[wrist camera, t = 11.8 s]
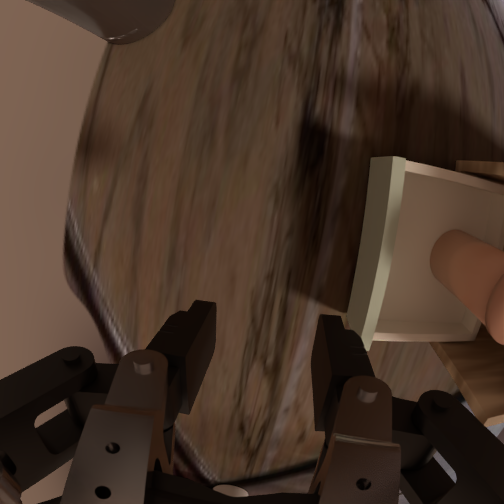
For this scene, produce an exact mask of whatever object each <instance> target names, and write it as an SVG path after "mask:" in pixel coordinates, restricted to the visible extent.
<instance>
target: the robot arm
mask: <svg viewBox="0 0 504 504" xmlns="http://www.w3.org/2000/svg"><path fill="white" fill-rule="evenodd" d="M26 1H29V2H31V3H33V4H36V5H38V6H40V7H42V8H44V9H46V10H48V11H51V12H53V13H55V14H57V15H59V16H61V17H63V18H65V19H67V20H69V21H71V22H73V23H75V24H77V25H79V26H80V27H82V28H84V29H86V30H88V31H90V32H92V33H93V34H95V35H97V36H99V37H101V38H102V39H104V40H106V41H108V42H110V43H113V44H128V43H131V42H135V41H137V40H140V39H142V38H144V37H145V36H147V35H149V34H150V33H152V32H153V31H154V30H155V29H157V28H158V27H159V26H160V25H161V24H162V23H163V22H164V21H165V20H166V18H167V17H168V15H169V14H170V12H171V10H172V8H173V5H174V1H175V0H26ZM215 343H216V303H215V302H208V301H201V300H195V301H194V303H193V304H192V306H191V307H190V309H189V310H188V311H178V312H177V313H175V314H173V315H171V316H170V317H169V318H168V319H167V321H166V322H165V323H164V325H163V326H162V327H161V329H160V331H158V333H157V334H156V335H155V337H154V338H153V339H152V341H151V342H150V343H149V345H148V346H147V347H146V349H143V350H135V351H132V352H130V353H128V354H126V355H125V356H123V357H122V359H121V360H120V363H119V364H102V363H95V359H94V356H93V353H92V352H91V351H90V350H88V349H86V348H83V347H77V346H73V347H67V348H63V349H61V350H59V351H57V352H55V353H53V354H51V355H49V356H47V357H45V358H43V359H41V360H39V361H37V362H35V363H33V364H31V365H29V366H27V367H25V368H23V369H21V370H19V371H17V372H15V373H13V374H11V375H9V376H8V377H5V378H3V379H1V380H0V504H22V501H21V499H20V498H21V493H22V492H23V491H25V490H26V489H28V488H29V487H31V486H32V485H34V484H35V483H37V482H39V481H40V480H41V479H43V478H44V477H46V476H47V475H49V474H50V473H52V472H53V471H55V470H56V469H58V468H59V467H61V466H62V465H63V464H65V463H66V462H68V461H69V460H71V459H72V458H73V457H74V458H73V461H72V464H71V468H70V471H69V474H68V477H67V481H66V484H65V488H64V491H63V495H62V496H60V497H57V498H54V499H51V500H48V501H45V502H41V503H38V504H398V502H399V489H400V490H401V492H402V493H403V495H404V496H405V498H406V499H407V500H408V502H409V503H410V504H504V444H503V443H502V442H501V441H500V440H499V439H498V438H497V437H496V436H495V435H494V434H492V433H491V432H490V431H489V430H488V429H487V428H486V427H485V426H484V425H483V424H482V423H481V422H480V421H479V420H478V419H477V418H476V417H475V416H474V415H473V414H472V413H471V412H470V411H469V410H468V409H467V408H465V407H464V406H463V405H462V404H461V403H460V402H459V401H458V400H457V399H456V398H455V397H454V396H452V395H451V394H449V393H447V392H444V391H440V390H430V391H427V392H425V393H423V394H422V395H421V396H420V398H419V400H418V402H414V401H409V400H404V399H399V398H396V397H393V396H392V392H391V389H390V388H389V386H388V385H387V384H386V383H385V382H383V381H382V380H380V379H378V378H375V375H374V372H373V369H372V366H371V363H370V360H369V358H368V355H367V352H366V349H365V348H364V344H363V341H362V338H361V337H360V336H359V335H358V334H357V333H356V332H355V331H354V330H347V329H345V328H344V325H343V322H342V319H341V316H337V315H324V314H320V316H319V320H318V325H317V330H316V335H315V340H314V345H313V350H312V356H311V374H312V388H313V403H314V421H315V431H325V440H324V443H323V445H322V448H321V452H320V455H319V459H318V462H317V466H316V469H315V472H314V476H313V479H312V482H311V485H310V488H309V491H308V494H302V493H276V494H267V495H257V496H245V497H232V496H228V495H225V494H223V493H220V492H218V491H215V490H213V489H210V488H208V487H206V486H203V485H201V484H199V483H196V482H194V481H192V480H190V479H187V478H183V477H178V476H174V475H173V457H174V441H175V420H176V418H177V416H178V413H183V414H188V415H189V414H190V411H191V409H192V406H193V404H194V401H195V399H196V396H197V394H198V391H199V389H200V386H201V384H202V381H203V379H204V376H205V374H206V371H207V369H208V366H209V364H210V361H211V359H212V356H213V353H214V349H215ZM63 400H64V401H65V404H66V406H67V409H66V410H65V411H64V412H62V413H60V414H58V415H57V416H55V417H54V418H52V419H50V420H49V421H47V422H45V423H44V424H43V425H40V426H39V427H37V428H35V427H34V423H35V419H36V418H37V416H38V415H40V414H41V413H43V412H44V411H46V410H48V409H49V408H51V407H53V406H54V405H56V404H58V403H60V402H61V401H63ZM436 451H438V452H439V453H440V454H441V456H442V457H443V458H444V459H445V460H446V461H447V463H448V464H449V465H450V466H451V467H452V469H453V470H454V471H455V473H456V476H457V481H456V484H455V482H454V481H453V480H452V479H451V478H450V476H449V475H448V474H447V473H446V472H445V470H444V469H443V468H442V467H441V466H440V464H439V463H438V462H437V461H436V460H435V458H434V457H433V455H434V454H435V453H436Z"/></svg>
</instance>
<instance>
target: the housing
mask: <svg viewBox="0 0 504 504" xmlns="http://www.w3.org/2000/svg"><path fill="white" fill-rule="evenodd" d="M455 172H458V173H462V174H466V175H470V176H473V177H477V178H480V179H484V180H487V181H490V182H494V183H497V184H500V185H503V186H504V162H490V161H466V160H456V168H455ZM503 252H504V246H503ZM429 343H430V344H431V346H432V347H433V349H434V350H435V352H436V353H437V355H438V356H439V358H440V359H441V361H442V363H443V364H444V366H445V367H446V369H447V370H448V372H449V373H450V375H451V377H452V378H453V380H454V381H455V383H456V385H457V386H458V388H459V390H460V391H461V393H462V394H463V396H464V398H465V399H466V401H467V403H468V405H469V406H470V408H471V410H472V411H473V413H474V415H475V417H476V418H477V419H478V420H479V421H480V422H481V423H482V424H483V425H484V426H485V427H488V426H492V425H496V424H499V423H503V422H504V345H502V344H499V343H498V342H496V341H495V340H494V339H493V337H492V336H491V335H490V334H489V333H488V331H487V329H486V326H485V325H484V324H483V323H481V326H480V328H479V331H478V333H477V336H476V339H475V341H451V342H429Z"/></svg>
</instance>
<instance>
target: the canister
mask: <svg viewBox="0 0 504 504" xmlns="http://www.w3.org/2000/svg"><path fill="white" fill-rule="evenodd" d="M430 268H431V272H432V274H433V275H434V277H435V278H436V279H437V280H438V281H439V282H440V283H441V284H442V285H444V286H445V287H446V288H447V289H448V290H449V291H450V292H451V293H452V294H453V295H454V296H455V297H456V298H458V299H459V300H460V301H461V302H462V303H463V304H464V305H465V306H466V307H467V308H468V309H469V310H470V311H471V312H472V313H473V314H474V315H475V316H476V317H477V318H478V319H479V320H480V321H481V322H482V323H483V324H484V325H485V326H486V329H487V331H488V333H489V334H490V335H491V336H492V337H493V339H494V340H495V341H496V342H498V343H499V344H502V345H504V252H503V251H502V250H500V249H498V248H496V247H494V246H492V245H490V244H488V243H486V242H484V241H482V240H480V239H478V238H476V237H474V236H472V235H470V234H468V233H466V232H464V231H462V230H457V229H454V230H450V231H447V232H445V233H444V234H442V235H441V236H440V237H439V238H438V239H437V241H436V242H435V244H434V246H433V248H432V251H431V255H430Z"/></svg>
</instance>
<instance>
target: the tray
mask: <svg viewBox="0 0 504 504" xmlns="http://www.w3.org/2000/svg"><path fill="white" fill-rule="evenodd" d="M454 229H457V230H462V231H464V232H466V233H468V234H470V235H472V236H474V237H476V238H478V239H480V240H482V241H484V242H486V243H488V244H490V245H492V246H494V247H496V248H498V249H500V250H502V251H503V246H504V186H503V185H500V184H497V183H494V182H490V181H487V180H484V179H480V178H477V177H473V176H470V175H466V174H462V173H458V172H455V171H451V170H447V169H443V168H438V167H434V166H430V165H425V164H421V163H416V162H412V161H407V160H406V158H401V157H396V156H385V157H372V158H371V160H370V171H369V181H368V190H367V198H366V206H365V214H364V221H363V228H362V235H361V241H360V248H359V254H358V260H357V265H356V271H355V276H354V281H353V287H352V292H351V297H350V301H349V306H348V311H347V315H346V317H347V320H348V323H349V326H350V329H351V330H354V331H355V332H356V333H357V334H358V335H359V336H360V337H361V338H362V341H363V344H364V348H365V349H366V351H369V349H370V346H371V343H372V340H377V341H414V342H451V341H475V339H476V336H477V333H478V331H479V328H480V326H481V323H482V322H481V321H480V320H479V319H478V318H477V317H476V316H475V315H474V314H473V313H472V312H471V311H470V310H469V309H468V308H467V307H466V306H465V305H464V304H463V303H462V302H461V301H460V300H459V299H458V298H456V297H455V296H454V295H453V294H452V293H451V292H450V291H449V290H448V289H447V288H446V287H445V286H444V285H442V284H441V283H440V282H439V281H438V280H437V279H436V278H435V277H434V275H433V274H432V272H431V268H430V255H431V251H432V248H433V246H434V244H435V242H436V241H437V239H438V238H439V237H440V236H441V235H442V234H444V233H445V232H447V231H450V230H454Z"/></svg>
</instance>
